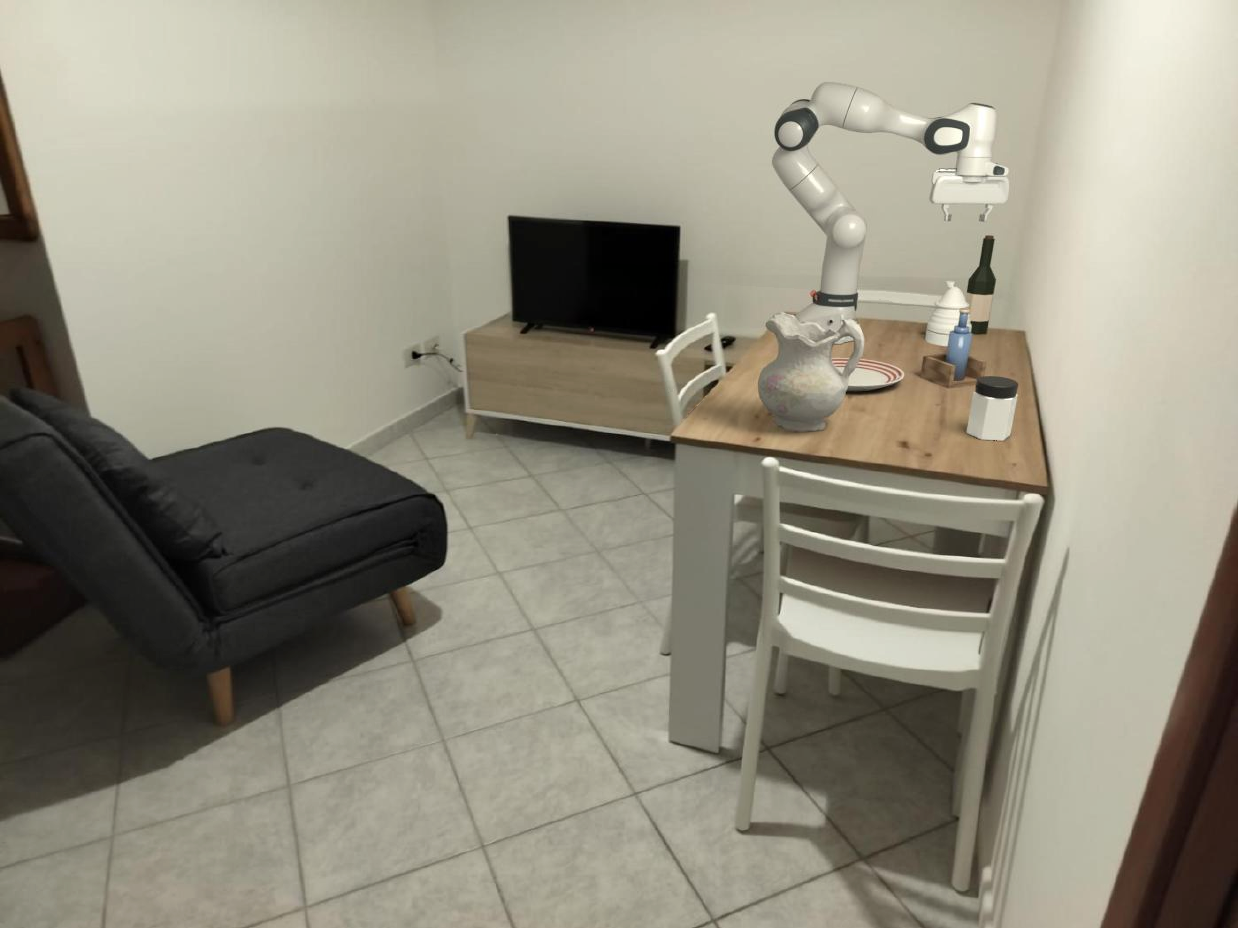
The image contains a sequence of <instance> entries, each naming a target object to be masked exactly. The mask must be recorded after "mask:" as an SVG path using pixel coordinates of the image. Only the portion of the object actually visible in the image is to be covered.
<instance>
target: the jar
mask: <svg viewBox="0 0 1238 928" xmlns="http://www.w3.org/2000/svg"><path fill="white" fill-rule="evenodd" d="M1018 389H1019V383H1018V382H1017V380H1015V379H1011V378H1009V377H1004V376H1003V377H1002V376H997V375H996V376H993V375H984V377H980V378H978V379H977V383H976V384H975V390H974V391H973V392H972V396H971V397H972V398H971V403H970V409H969V416H968V421H967V426H966V433H967V435H970V436H972V437H974V436H975V438H976V437H977V439H979V440H981V441H993V440H995V441H996V440H997V441H996V442H1004V441H1005V440H1006V439H1008V438H1009V437H1010V436H1011V432H1012V428H1013V423H1014V422H1013V421H1014V417H1015V412H1016V407H1017V401H1018V396H1019V395H1018ZM995 441H994V442H995Z"/></svg>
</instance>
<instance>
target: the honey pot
mask: <svg viewBox="0 0 1238 928" xmlns="http://www.w3.org/2000/svg"><path fill="white" fill-rule="evenodd" d="M955 283H956V281H953V280H946V281H945V286H946V288H948V289H947V290H946V292H945V293H944V294H943V295H942V297H941V298H940V299H939V300H938V299H937V300H935V301H934V303H933V304H934V306H935V308H934V311H932V312H931V313H932V314H931V316H930V319H929V320H928V322H927V323H926V332H925V337H924V338H925V339H924V341H925V342H926V343H929V344H932V345H935V346H942V347H947V346H948V340H949V333H950V331H953V330H954V326H957V325H958V322H959V316H960V312H959V311H960V309H961V308H965V309H968V307H969V304H968V303H967V302H966V300H965V299H966V296H965V295H964V293H963V291H962V290H961V289H960V288H959V287H958V286H955ZM969 317H970V314H969V313H968V319H967V325H966V326H968V327H970V328H969V332H971V329H972V325H971V323H970V318H969Z"/></svg>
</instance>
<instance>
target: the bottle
mask: <svg viewBox="0 0 1238 928" xmlns="http://www.w3.org/2000/svg"><path fill="white" fill-rule="evenodd" d="M959 312H960V316H959V322H958V325H957V326H954V330H953V331H950V333H949V340H948V346H946V359H945V362H946V363H949V364H952V365H955V366H956V367H955V373H954V379H953V381H963V380H965V374H966V368H967V362H968V356H970V349H971V343H972V338H973V334H972V333H971V332H969V328H970V327H968V326H966V325H967V319H968V313H969V312H970V309H965V308H961V309H960V311H959Z"/></svg>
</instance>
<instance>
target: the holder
mask: <svg viewBox="0 0 1238 928" xmlns="http://www.w3.org/2000/svg"><path fill="white" fill-rule="evenodd" d="M945 359H946V353H945V352H944V353H939V354H938V353H937V354H931V355H924V356H922V363H921V370H920V378H921V379H923V380H926V381H928V382H930V383H933V384H936V385H939V386H941V387H944V388H947V389H954V388H959V387H960V386H961V387H967V385H968V386H972V385H973V386H974V384H975V385H976V383H977V379H978V378H980V377H984V376H986V369H987V361H986V360H984V359H983V360H982V359H981V358H976V357H973V356H971V355H969V356H968V362H967V368H966V374H965V380H963V381H953V379H954V373H955V367H956V366H955V365H952V364H949V363H946V362H945ZM953 387H954V388H953ZM961 387H960V388H961Z"/></svg>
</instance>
